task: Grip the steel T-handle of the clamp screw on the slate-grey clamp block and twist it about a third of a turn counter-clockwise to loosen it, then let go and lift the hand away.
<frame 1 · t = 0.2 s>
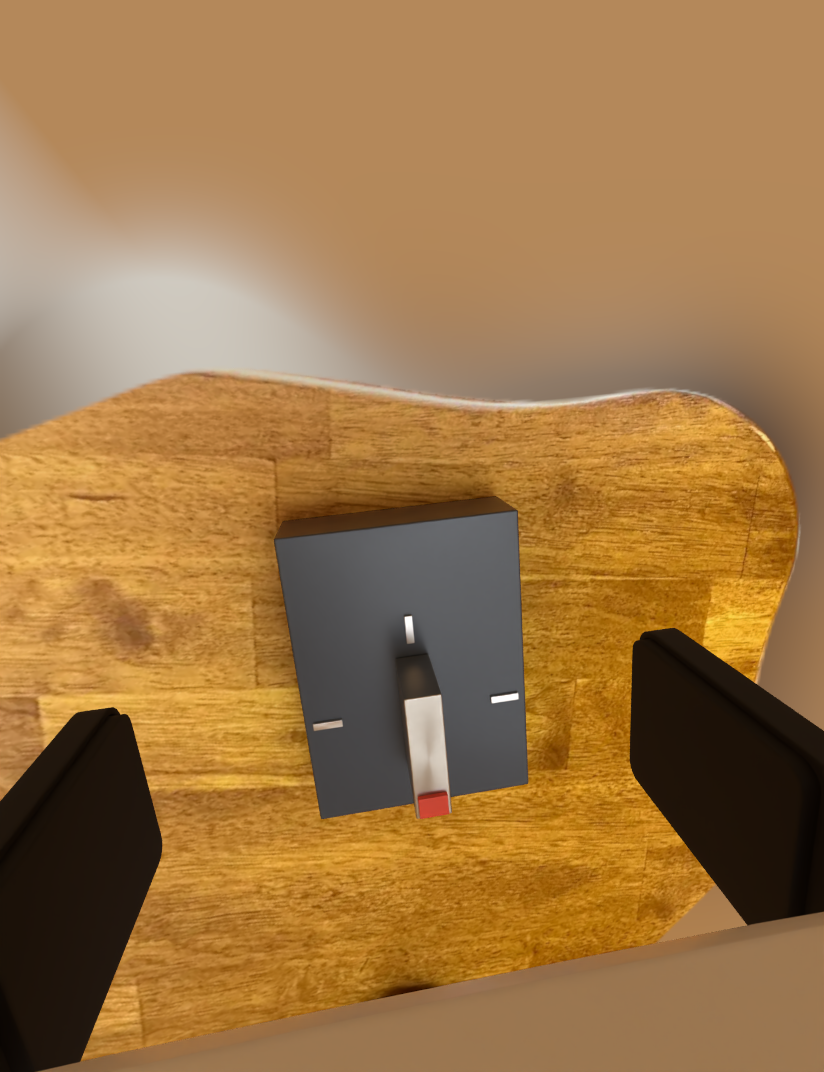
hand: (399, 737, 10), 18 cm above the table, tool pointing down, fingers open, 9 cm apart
clamp block: (405, 641, 29), on the table
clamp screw: (423, 734, 24), point 5 cm above the table, hinge at 0.0°
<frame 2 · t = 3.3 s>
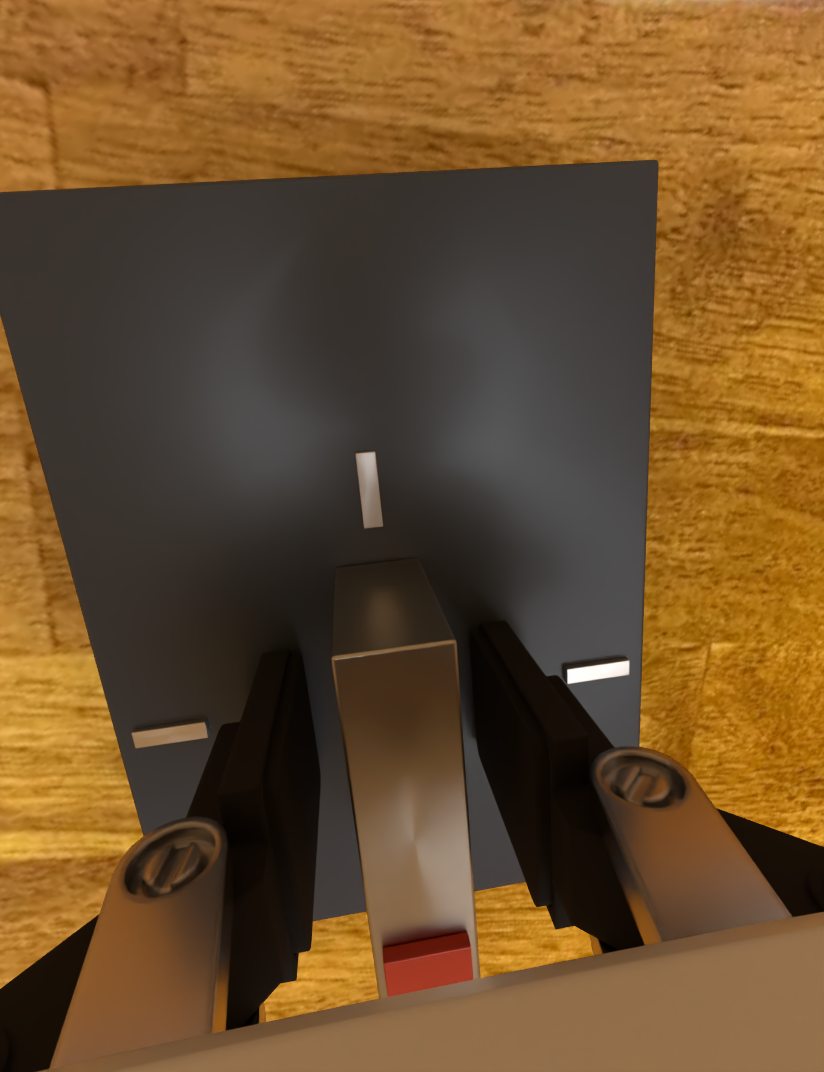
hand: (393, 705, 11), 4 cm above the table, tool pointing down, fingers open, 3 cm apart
clamp block: (373, 557, 14), on the table
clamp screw: (402, 761, 9), point 5 cm above the table, hinge at 0.0°
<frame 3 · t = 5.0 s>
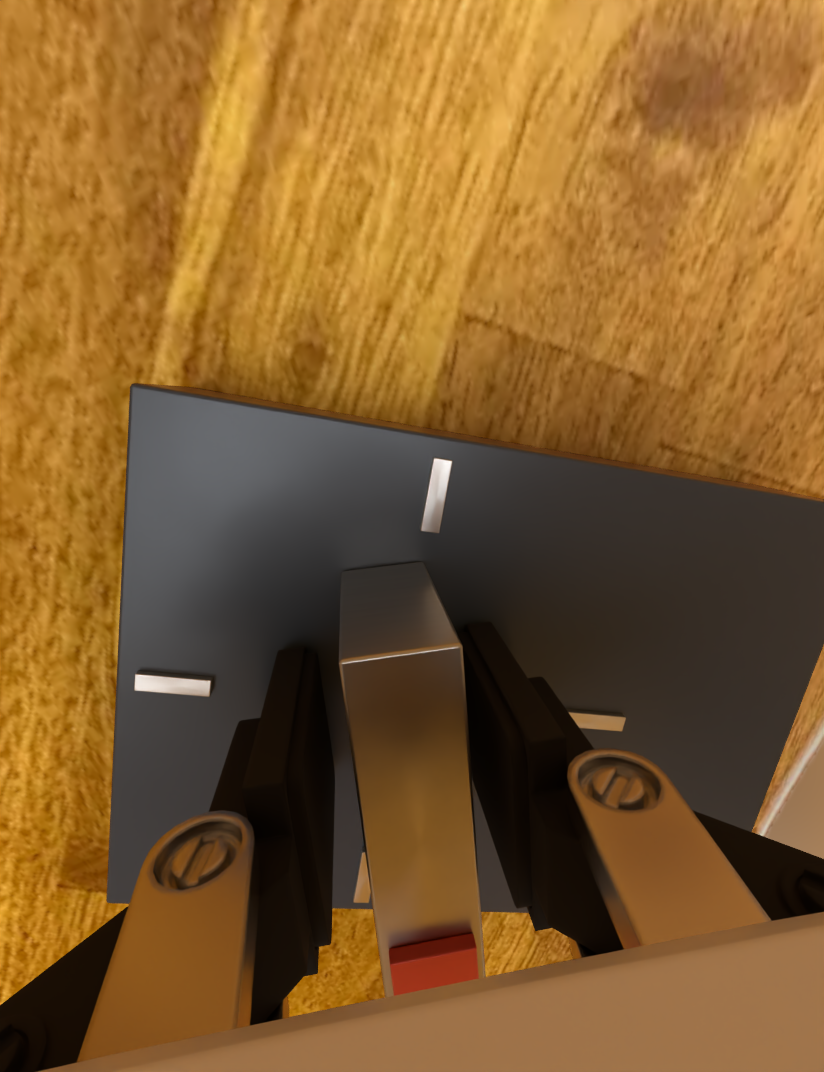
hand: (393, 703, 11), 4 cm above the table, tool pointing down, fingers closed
clamp block: (455, 637, 15), on the table
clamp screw: (407, 764, 9), point 5 cm above the table, hinge at 105.0°
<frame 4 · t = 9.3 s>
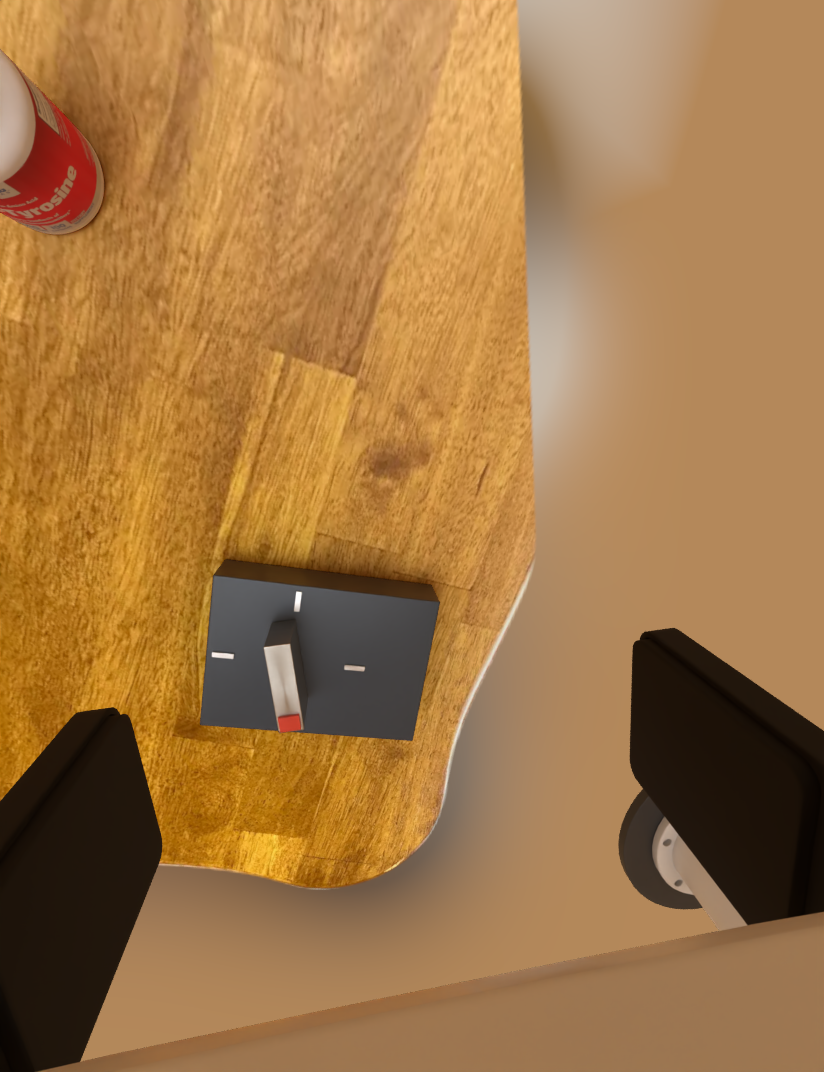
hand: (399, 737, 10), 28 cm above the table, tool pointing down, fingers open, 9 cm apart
clamp block: (321, 641, 39), on the table
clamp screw: (287, 675, 34), point 5 cm above the table, hinge at 105.0°
pill bottle: (52, 179, 30), on the table
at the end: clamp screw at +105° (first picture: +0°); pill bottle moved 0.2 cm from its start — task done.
